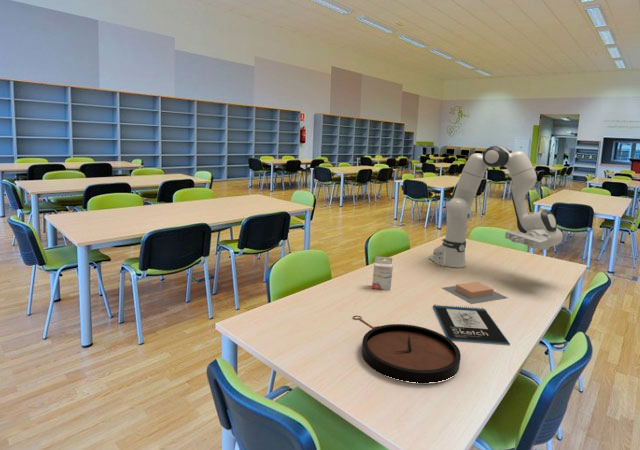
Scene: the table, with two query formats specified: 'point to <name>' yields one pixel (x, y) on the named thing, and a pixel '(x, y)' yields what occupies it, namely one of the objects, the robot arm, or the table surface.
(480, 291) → the tile
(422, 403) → the table surface
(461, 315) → the sketchbook
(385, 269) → the ink cartridge box
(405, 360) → the wall clock
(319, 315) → the table surface
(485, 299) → the mat
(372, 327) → the key
